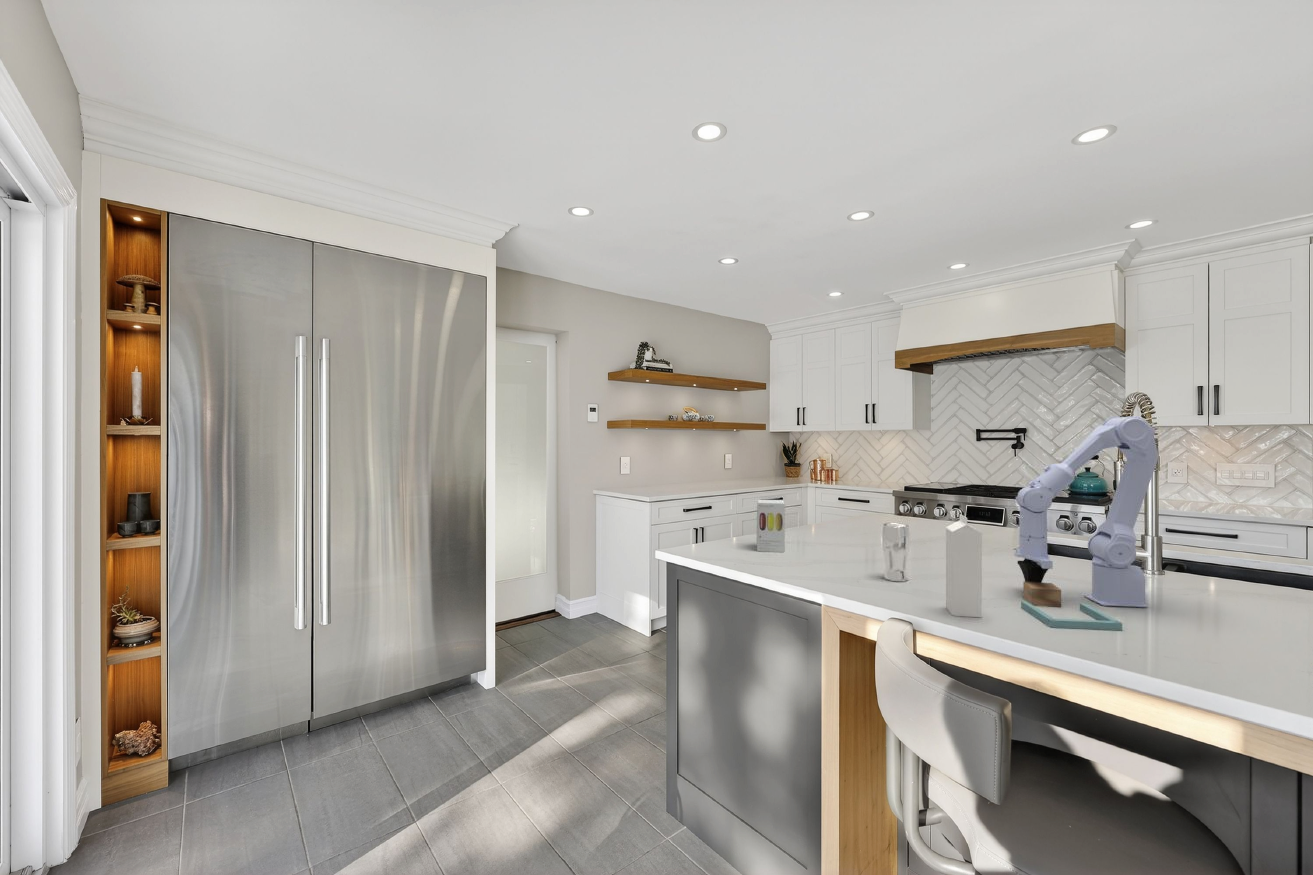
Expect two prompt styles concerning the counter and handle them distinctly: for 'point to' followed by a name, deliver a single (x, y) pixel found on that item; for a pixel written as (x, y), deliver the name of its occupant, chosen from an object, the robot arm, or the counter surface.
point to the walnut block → (1042, 594)
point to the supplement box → (771, 526)
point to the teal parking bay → (1101, 623)
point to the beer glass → (895, 551)
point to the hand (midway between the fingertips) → (1033, 591)
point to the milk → (963, 569)
